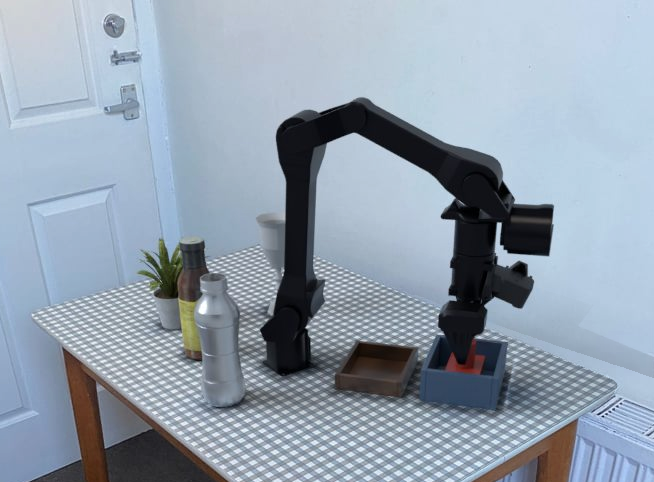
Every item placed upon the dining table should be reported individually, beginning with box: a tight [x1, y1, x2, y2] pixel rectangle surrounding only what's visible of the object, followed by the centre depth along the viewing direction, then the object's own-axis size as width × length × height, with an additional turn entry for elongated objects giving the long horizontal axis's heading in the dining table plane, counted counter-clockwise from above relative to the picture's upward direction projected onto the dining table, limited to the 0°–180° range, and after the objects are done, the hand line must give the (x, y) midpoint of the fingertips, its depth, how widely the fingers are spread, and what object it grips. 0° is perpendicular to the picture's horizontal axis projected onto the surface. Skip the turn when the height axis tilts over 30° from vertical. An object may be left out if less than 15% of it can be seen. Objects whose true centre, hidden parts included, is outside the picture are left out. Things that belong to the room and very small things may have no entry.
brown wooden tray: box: [334, 340, 419, 399], centre depth 124 cm, size 10×12×3 cm
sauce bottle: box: [177, 236, 210, 361], centre depth 130 cm, size 6×6×20 cm
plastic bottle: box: [194, 272, 247, 408], centre depth 115 cm, size 6×7×20 cm
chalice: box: [255, 211, 285, 317], centre depth 145 cm, size 7×7×18 cm
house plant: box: [136, 237, 211, 330], centre depth 141 cm, size 14×14×16 cm
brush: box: [445, 338, 485, 375], centre depth 119 cm, size 8×5×7 cm
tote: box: [419, 334, 509, 411], centre depth 120 cm, size 11×13×6 cm
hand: (466, 350), depth 118 cm, fingers open, 9 cm apart
